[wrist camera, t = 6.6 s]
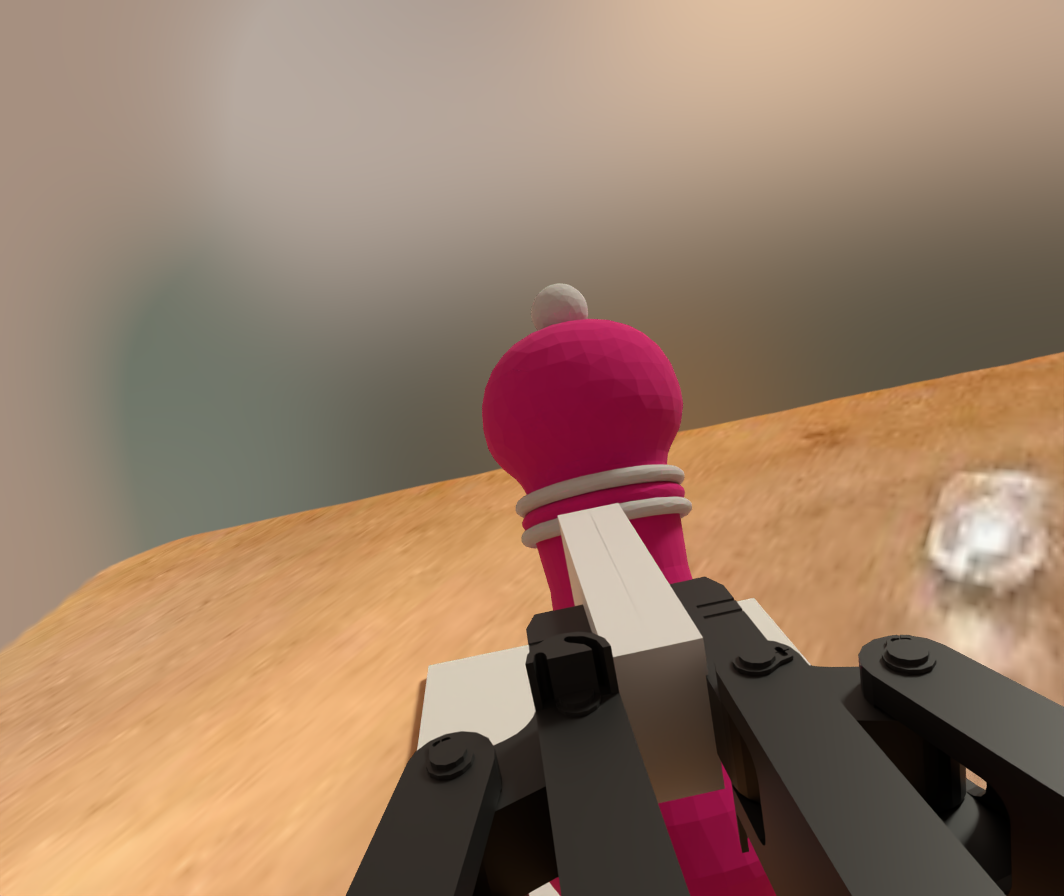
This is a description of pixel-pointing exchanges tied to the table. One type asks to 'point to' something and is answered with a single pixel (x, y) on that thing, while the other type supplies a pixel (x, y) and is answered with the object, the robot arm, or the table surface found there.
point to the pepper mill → (609, 501)
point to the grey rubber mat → (508, 694)
